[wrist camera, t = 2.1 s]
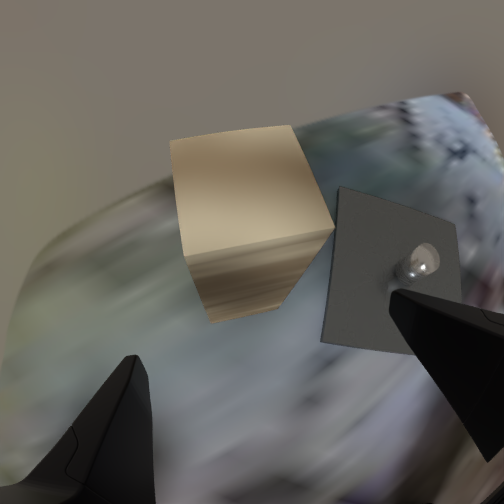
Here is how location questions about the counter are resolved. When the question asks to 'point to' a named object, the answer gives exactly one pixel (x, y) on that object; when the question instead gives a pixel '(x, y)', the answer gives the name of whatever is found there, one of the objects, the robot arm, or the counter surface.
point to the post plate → (384, 268)
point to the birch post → (247, 217)
